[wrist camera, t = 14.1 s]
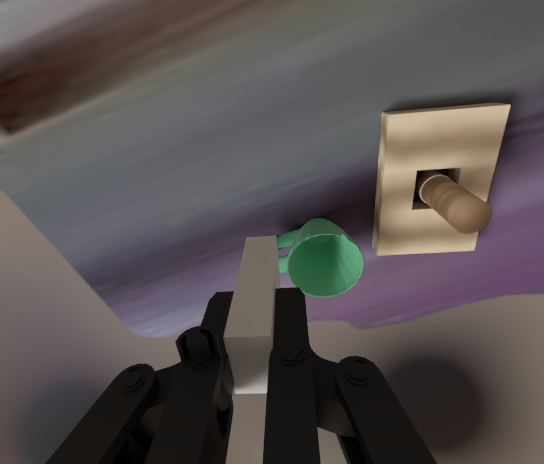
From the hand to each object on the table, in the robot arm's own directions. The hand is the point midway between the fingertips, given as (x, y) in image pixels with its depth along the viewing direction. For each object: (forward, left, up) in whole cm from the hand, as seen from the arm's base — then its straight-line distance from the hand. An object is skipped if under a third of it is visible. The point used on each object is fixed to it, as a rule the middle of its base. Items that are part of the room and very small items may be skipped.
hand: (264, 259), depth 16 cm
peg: (+7, +21, -29) cm, 37 cm away
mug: (+14, +3, -30) cm, 33 cm away
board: (+7, +21, -29) cm, 37 cm away
